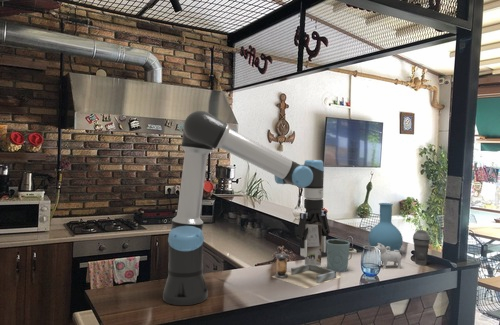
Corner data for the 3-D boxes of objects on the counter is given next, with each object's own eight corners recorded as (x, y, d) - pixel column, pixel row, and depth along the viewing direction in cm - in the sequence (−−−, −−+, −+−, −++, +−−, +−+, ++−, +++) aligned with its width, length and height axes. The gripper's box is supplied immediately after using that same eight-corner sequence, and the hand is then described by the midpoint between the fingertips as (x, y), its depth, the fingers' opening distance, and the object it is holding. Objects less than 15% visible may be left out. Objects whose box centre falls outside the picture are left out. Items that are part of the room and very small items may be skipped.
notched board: (306, 291, 141) (306, 281, 141) (271, 278, 154) (271, 270, 154) (342, 279, 155) (343, 270, 155) (308, 268, 169) (308, 260, 169)
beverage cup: (422, 267, 174) (423, 222, 173) (408, 263, 180) (409, 219, 180) (433, 264, 178) (433, 221, 177) (418, 261, 184) (419, 218, 183)
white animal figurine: (370, 265, 175) (370, 242, 175) (397, 265, 176) (398, 241, 176) (374, 269, 170) (375, 244, 170) (403, 268, 171) (403, 244, 171)
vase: (366, 254, 196) (367, 204, 195) (369, 247, 211) (370, 201, 210) (402, 257, 189) (403, 206, 189) (402, 250, 205) (403, 202, 204)
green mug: (337, 264, 176) (338, 238, 176) (354, 270, 168) (355, 242, 167) (320, 267, 171) (321, 240, 170) (337, 273, 162) (338, 245, 162)
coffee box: (321, 266, 150) (321, 224, 150) (304, 265, 151) (304, 223, 151) (321, 260, 159) (322, 220, 159) (305, 259, 160) (306, 220, 160)
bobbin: (281, 279, 151) (281, 257, 151) (272, 276, 155) (272, 254, 154) (290, 276, 154) (290, 255, 154) (281, 273, 158) (281, 252, 158)
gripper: (301, 201, 144) (300, 260, 145) (339, 197, 159) (338, 251, 160) (286, 199, 150) (286, 256, 150) (324, 196, 165) (324, 247, 165)
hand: (313, 254), depth 155 cm, fingers closed on coffee box, 11 cm apart
